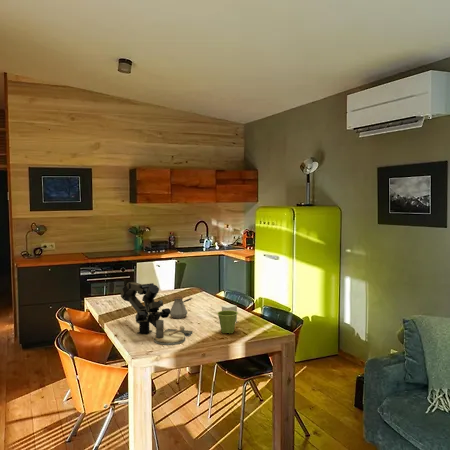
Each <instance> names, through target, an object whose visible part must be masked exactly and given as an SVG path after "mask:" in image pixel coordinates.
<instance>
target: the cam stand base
mask: <svg viewBox="0 0 450 450" xmlns="http://www.w3.org/2000/svg"><path fill="white" fill-rule="evenodd" d="M176 330H178V328H177V329H176V328H167V329H166V330H165V329H164V332H165V331H176ZM179 332H181V333H184V335H185V338H184V339H183V340H182V341H179V342H173V343H163V342H158V341H156V340H155V337H154V338H153V342H154V343H155V344H157V345H162V346H173V345H174V346H175V345H180V344H182V343H185V341H186V337H190V336H192V335H193V330H187V329H184V330H183V331H179ZM191 334H192V335H191Z"/></svg>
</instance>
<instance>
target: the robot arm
mask: <svg viewBox="0 0 450 450" xmlns="http://www.w3.org/2000/svg"><path fill="white" fill-rule="evenodd" d="M159 291H160V287H158V286H157V284H154V282H151V283H139V282H135V281H130V282H127V283H126V285H125V286H123V288H122V289H121V292H120V298H121V299H122V300H124V301H125V302H128V303H129V304H130V305H131V306H132V308H133V309H134V310H135V311H136V312H137V313H136V314H135V322H136V323H137V324H139V326H138V329H139V331H137V332H136V334H139V335H140V334H141V335H148V334H150V333H151V332H153V330H151V328H150V324H151V325H152V326H153V327H154V328H155V329H156V320H160V318H161V319H165V318H169V316H170V312H171V311H170V310H171V308H169V307H167V308H162V310H161V311H159V310H160V309H161V307H164V302H163V300H162V299H160V300H158V301H155V298H156V297H157V295H158V293H159ZM137 294H138V295H139V296H142V295H143V296H142V299H141V301H142V302H143V303H142V302H141V301H140V299H138V297H137Z"/></svg>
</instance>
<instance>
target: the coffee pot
mask: <svg viewBox="0 0 450 450" xmlns="http://www.w3.org/2000/svg"><path fill="white" fill-rule="evenodd" d="M183 299H184V297H183V296H173V300H174V301H173V303H172V306H171V308H170V311H171V312H170V314H169V316H170V317H171V318H173V319H183V318H185V317H186V316H187V314H188V310H187V309H186V306H185V303H186V302H189V301H190V302H192V300H193V298H192V297H190V298H187V299H185V300H183Z"/></svg>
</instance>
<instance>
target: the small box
mask: <svg viewBox="0 0 450 450" xmlns="http://www.w3.org/2000/svg"><path fill="white" fill-rule="evenodd" d="M227 310H229V311H236V312H238V306H237V305H235V304H227V305H222V306H221V311H227ZM235 322H236V323H238V316H237V317H236V321H235Z"/></svg>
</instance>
